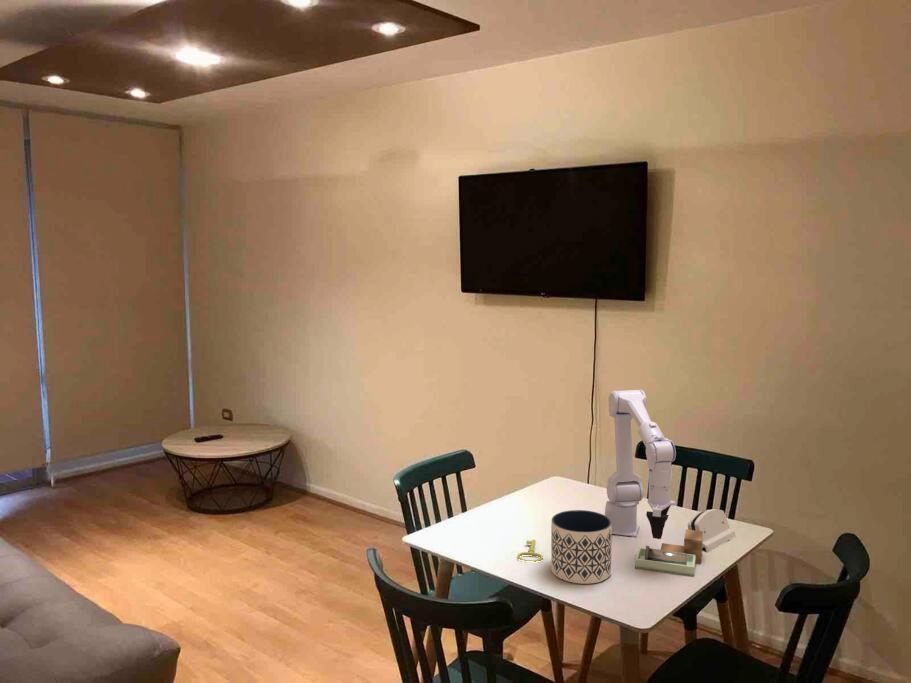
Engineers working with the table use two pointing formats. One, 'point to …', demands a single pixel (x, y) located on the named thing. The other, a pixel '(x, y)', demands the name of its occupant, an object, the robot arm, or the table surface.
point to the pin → (665, 556)
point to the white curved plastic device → (711, 528)
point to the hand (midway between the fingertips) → (658, 532)
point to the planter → (581, 546)
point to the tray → (665, 564)
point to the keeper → (688, 545)
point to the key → (530, 552)
